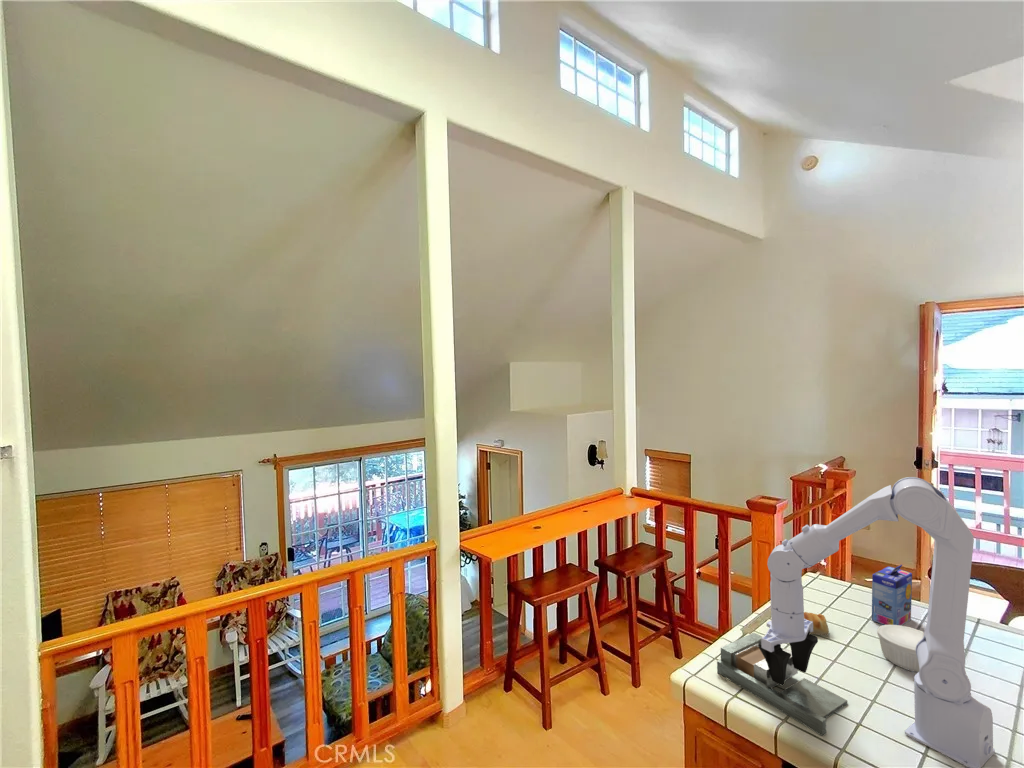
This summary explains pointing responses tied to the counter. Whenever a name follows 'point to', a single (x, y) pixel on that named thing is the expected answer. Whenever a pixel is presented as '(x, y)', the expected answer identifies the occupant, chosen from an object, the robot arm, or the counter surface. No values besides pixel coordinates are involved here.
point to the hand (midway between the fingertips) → (789, 676)
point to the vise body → (795, 701)
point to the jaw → (764, 674)
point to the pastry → (817, 623)
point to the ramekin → (900, 645)
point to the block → (749, 661)
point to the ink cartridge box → (891, 596)
